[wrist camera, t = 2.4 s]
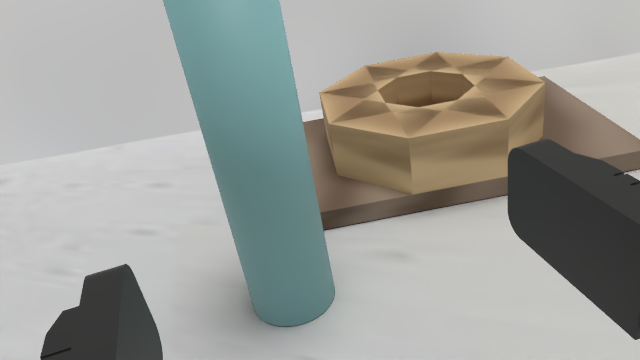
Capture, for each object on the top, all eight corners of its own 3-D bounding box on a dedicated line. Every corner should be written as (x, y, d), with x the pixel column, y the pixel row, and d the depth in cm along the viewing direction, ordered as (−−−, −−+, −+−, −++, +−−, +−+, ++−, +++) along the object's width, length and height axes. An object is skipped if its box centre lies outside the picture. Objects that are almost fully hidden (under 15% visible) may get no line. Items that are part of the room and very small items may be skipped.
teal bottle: (253, 333, 24) (138, -41, 16) (253, 277, 28) (159, -54, 20) (340, 316, 24) (267, -65, 16) (329, 262, 28) (265, -74, 20)
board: (271, 240, 30) (266, 222, 30) (267, 143, 42) (264, 129, 41) (649, 166, 31) (652, 148, 30) (543, 90, 42) (544, 76, 41)
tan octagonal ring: (346, 207, 30) (337, 151, 28) (321, 118, 41) (314, 75, 39) (574, 163, 30) (579, 105, 28) (487, 87, 41) (487, 42, 40)
